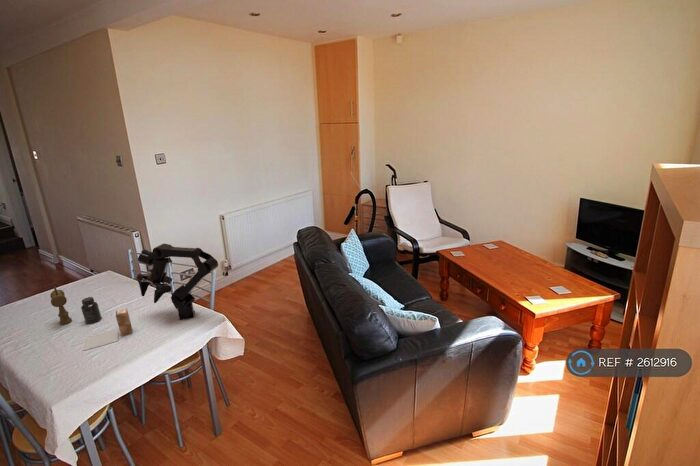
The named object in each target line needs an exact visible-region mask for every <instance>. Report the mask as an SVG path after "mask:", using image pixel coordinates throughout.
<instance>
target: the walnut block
mask: <svg viewBox="0 0 700 466" xmlns="http://www.w3.org/2000/svg"><path fill="white" fill-rule="evenodd" d="M115 318H116V323H117V326H118V329H119V330H118V331H119V333H120V336H121V337H124V336H128V335H131V334H133V326H132V323H131V318H130V314H129V311H128V308H124V309H120V310H116V311H115Z"/></svg>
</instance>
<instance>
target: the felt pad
mask: <svg viewBox="0 0 700 466" xmlns="http://www.w3.org/2000/svg"><path fill="white" fill-rule="evenodd" d="M119 331H120V330H119V327H117V328H114V329H111V330H110V329H109V330H106V331H103V332H99V333H96V334H95V333H94V334H91V335H88V336H85V339H84V344H83V345H84V346H83V350H82V351H83V352H85V351H88V350H89V351H90V350H92V349H96V348H99V347H103V346H105V345H106V346H107V345H110V344H114V343H117V342H119Z"/></svg>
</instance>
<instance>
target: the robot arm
mask: <svg viewBox="0 0 700 466" xmlns="http://www.w3.org/2000/svg"><path fill="white" fill-rule="evenodd" d="M172 257H173V258H187V259H188V258H189V259H192V260H193V262H194V265H195V267H196V268H197V272H196V273H195V274H194V275H193V276H192V277H191V279H189V280H188V282H187V283H186V284H185V285H184V284H182V285H181V286H179V287H178V288H176V289H175V290H174V292H173V293H171V292H172V289H173V287H172V286H171V285H170V284H171V283H172V282H173V280H174V278H172V277H170V276H168V275H167V272H166V268H167V265H168V264H171V263H173V260H172V259H171V258H172ZM200 258H202V259H204V261H203V262H202V260H201V259H200ZM137 262H139V263H141V264H143V265H147V266H148V267H151V266H152V268H150V269H149V270H148V271H149V272H150V273H139V274H137V276H136V280H137V283H138V285H139V286H138V287H139V289H140V294H141V297H145V295H146V293H147V290H148V287H149V286H150V285H151V284H152V285H154V286H155V289H154V294H153V295H154V296H153V303H154V304H156V303H157V302H158V301H159V300H160V299H161V297H162V296H164V294H169V292H170V293H171V294H170V296H171V297H170V300H171V302H172V304H173V306H174V308H175V309H176V310H177V313H178V314H177V315H178V318H179V320H180V321H181V320H188V319H193V318H194V317H195V313H196V312H195V308H194V304H193V303H194V302H195V300H196V298H195V296H194V295H192V291H193V290H194V289H195V287H197V285H199V283H200V282H202V280H204V278H205V277H206V276H207V275H209V274H210V273H212V272H213V271H214V270H215V269H217V268H218V267H219V262H218V261H217V259H216V258H215V257H214V256H213V255H211V254H210V253H208V252H205V251H204V250H203V249H201V248H200V247H179V246H173V245H171V244H168V243H161V244H160V245H158V246H155V247H153V248H152V251H149V250H148V249H143V250H141V252H140V254H139V255H138V257H137Z"/></svg>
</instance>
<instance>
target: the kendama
mask: <svg viewBox="0 0 700 466" xmlns="http://www.w3.org/2000/svg"><path fill="white" fill-rule="evenodd" d="M67 301H68V299H67V297H66V296H65V292H64V290H62V289H57V287H56V286H53V291H51V293H50V304H51V306H52V307H54V308H58V315H57V317H59V324H60V325H66V324H69V323H71V322H72V321H73V320H72V318H71V317H70V315H69V313H70V312H69V311H67V310H66V308H65V305H66V304H67Z"/></svg>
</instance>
